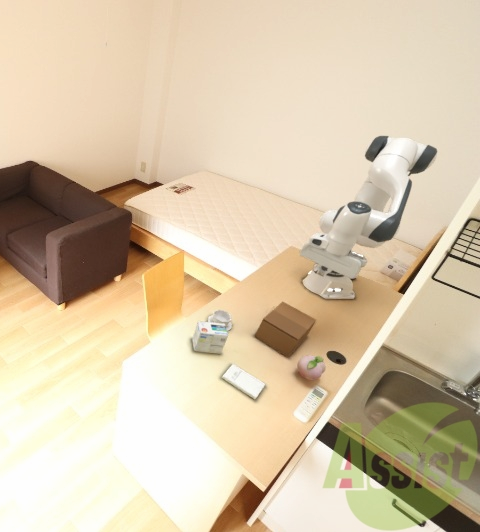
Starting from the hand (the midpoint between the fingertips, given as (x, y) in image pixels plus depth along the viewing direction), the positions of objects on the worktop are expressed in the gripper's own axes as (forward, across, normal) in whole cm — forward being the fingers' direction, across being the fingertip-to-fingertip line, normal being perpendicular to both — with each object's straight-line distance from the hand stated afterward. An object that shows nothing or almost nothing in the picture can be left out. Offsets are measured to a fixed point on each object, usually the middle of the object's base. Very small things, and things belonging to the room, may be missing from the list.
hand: (320, 275), depth 138 cm
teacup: (+27, +20, +26) cm, 43 cm away
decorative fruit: (+27, -15, +24) cm, 39 cm away
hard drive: (+27, -2, +45) cm, 53 cm away
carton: (+27, 0, +12) cm, 30 cm away
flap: (+17, 0, +8) cm, 19 cm away
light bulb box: (+27, +16, +42) cm, 52 cm away
